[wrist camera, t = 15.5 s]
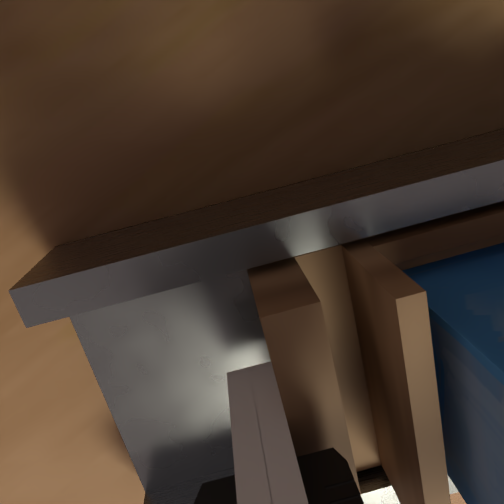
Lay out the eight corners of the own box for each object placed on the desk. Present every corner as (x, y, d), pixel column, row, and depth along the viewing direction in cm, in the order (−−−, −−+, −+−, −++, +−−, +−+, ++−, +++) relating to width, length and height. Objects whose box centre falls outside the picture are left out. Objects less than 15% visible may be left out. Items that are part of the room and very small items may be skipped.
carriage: (241, 249, 15) (263, 334, 10) (568, 162, 15) (780, 195, 10) (293, 446, 18) (334, 601, 12) (567, 371, 18) (728, 489, 13)
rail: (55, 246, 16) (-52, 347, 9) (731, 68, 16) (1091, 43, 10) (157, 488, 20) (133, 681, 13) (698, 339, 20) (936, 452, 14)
